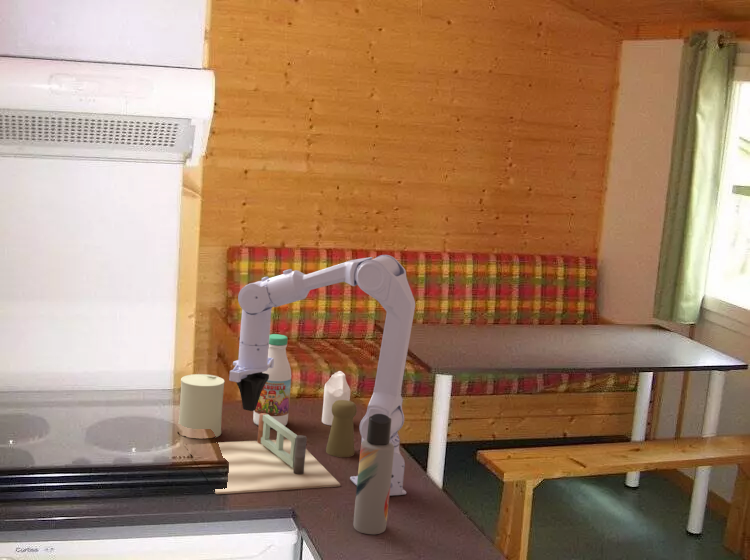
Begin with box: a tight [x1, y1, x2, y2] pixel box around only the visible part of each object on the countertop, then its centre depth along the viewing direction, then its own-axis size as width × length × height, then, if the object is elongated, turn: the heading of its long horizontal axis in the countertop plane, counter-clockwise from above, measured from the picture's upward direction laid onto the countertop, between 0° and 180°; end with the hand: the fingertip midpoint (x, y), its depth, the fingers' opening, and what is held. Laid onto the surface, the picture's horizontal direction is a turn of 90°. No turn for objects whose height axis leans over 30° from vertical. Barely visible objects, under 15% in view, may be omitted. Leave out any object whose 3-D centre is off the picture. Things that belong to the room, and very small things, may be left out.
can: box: [178, 373, 226, 438], centre depth 212 cm, size 9×9×12 cm
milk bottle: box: [252, 333, 292, 429], centre depth 222 cm, size 8×8×20 cm
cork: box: [325, 400, 358, 458], centre depth 208 cm, size 6×6×11 cm
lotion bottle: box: [353, 414, 394, 535], centre depth 170 cm, size 6×6×20 cm
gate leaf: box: [261, 415, 298, 468], centre depth 201 cm, size 15×1×6 cm, turn 31°
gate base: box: [214, 413, 341, 495], centre depth 196 cm, size 26×24×8 cm
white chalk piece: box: [321, 370, 351, 426], centre depth 228 cm, size 6×12×6 cm
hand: (249, 409), depth 198 cm, fingers closed
